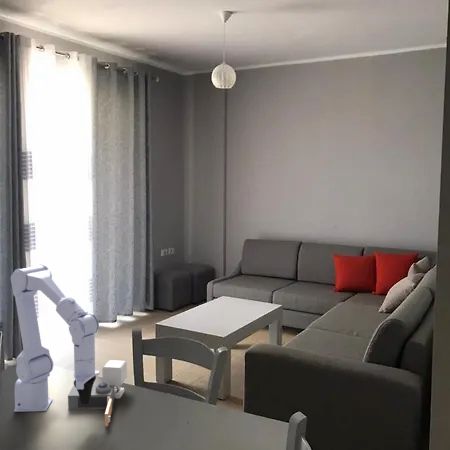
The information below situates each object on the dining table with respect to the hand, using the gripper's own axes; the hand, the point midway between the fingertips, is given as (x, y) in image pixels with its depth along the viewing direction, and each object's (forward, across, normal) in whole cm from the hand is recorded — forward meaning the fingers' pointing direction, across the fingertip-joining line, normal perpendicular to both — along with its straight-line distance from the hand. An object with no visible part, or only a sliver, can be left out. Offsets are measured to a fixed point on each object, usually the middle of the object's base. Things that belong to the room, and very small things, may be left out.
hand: (85, 402), depth 150 cm
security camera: (+7, +21, -5) cm, 23 cm away
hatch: (+7, +4, -6) cm, 10 cm away
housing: (+7, +13, +1) cm, 15 cm away
